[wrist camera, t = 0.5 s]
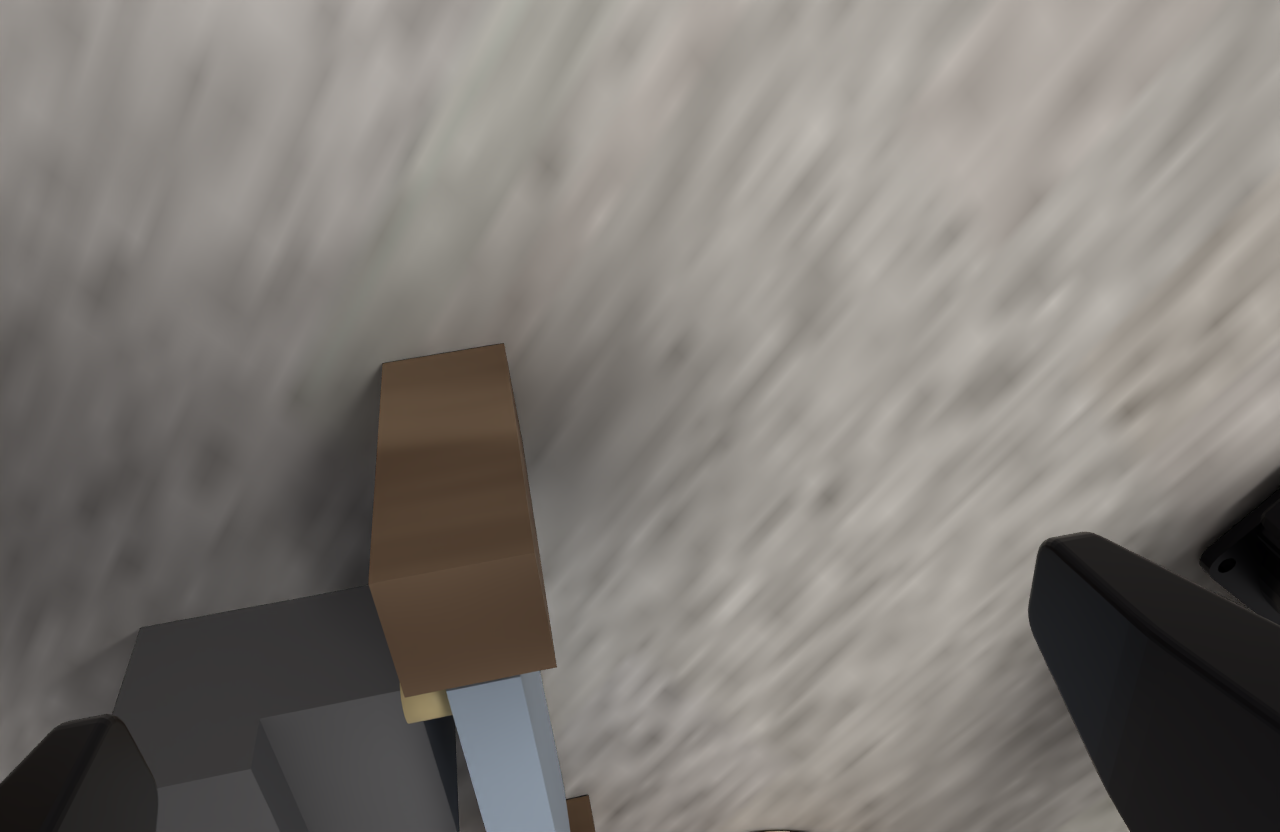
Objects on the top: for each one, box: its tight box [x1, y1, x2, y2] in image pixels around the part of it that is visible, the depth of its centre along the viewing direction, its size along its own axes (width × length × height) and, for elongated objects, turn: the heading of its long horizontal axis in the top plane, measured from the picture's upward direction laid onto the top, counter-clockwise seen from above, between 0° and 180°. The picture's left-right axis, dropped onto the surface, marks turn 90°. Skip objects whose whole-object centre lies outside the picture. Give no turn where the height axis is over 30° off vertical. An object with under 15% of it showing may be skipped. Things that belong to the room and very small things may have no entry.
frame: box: [368, 343, 595, 832], centre depth 21 cm, size 16×2×7 cm, turn 5°
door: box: [400, 671, 570, 832], centre depth 22 cm, size 11×2×6 cm, turn 5°
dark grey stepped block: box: [112, 585, 459, 832], centre depth 22 cm, size 5×6×5 cm
